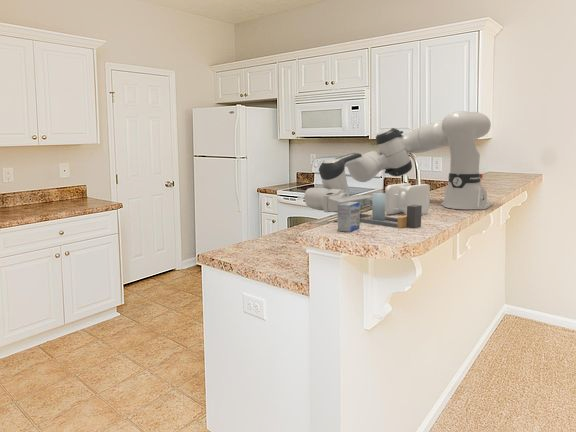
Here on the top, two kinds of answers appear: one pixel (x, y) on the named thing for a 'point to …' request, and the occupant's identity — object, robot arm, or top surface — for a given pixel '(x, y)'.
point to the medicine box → (348, 216)
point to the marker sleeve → (378, 206)
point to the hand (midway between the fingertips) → (368, 204)
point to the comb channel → (401, 219)
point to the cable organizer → (406, 197)
